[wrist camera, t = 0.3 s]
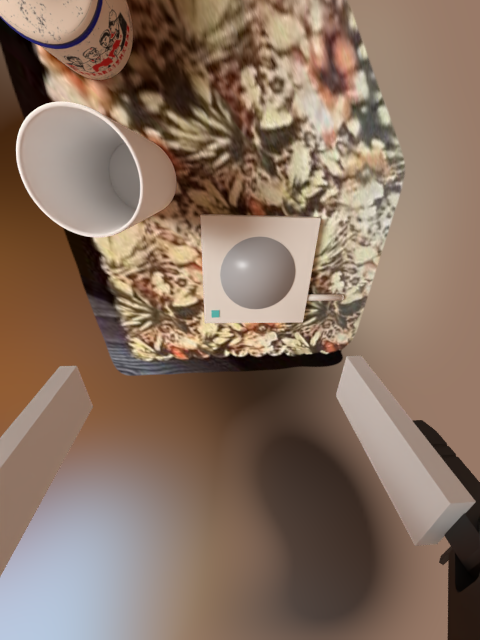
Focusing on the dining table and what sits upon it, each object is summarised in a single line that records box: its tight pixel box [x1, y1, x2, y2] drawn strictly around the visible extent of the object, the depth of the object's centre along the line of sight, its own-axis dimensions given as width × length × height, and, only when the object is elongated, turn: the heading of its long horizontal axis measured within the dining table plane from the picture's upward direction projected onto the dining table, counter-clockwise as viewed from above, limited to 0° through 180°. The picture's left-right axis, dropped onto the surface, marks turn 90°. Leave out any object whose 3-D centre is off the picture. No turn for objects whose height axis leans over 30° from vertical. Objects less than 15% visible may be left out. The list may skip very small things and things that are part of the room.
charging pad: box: [200, 214, 344, 323], centre depth 38 cm, size 16×22×2 cm
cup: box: [16, 102, 177, 237], centre depth 25 cm, size 8×8×16 cm
